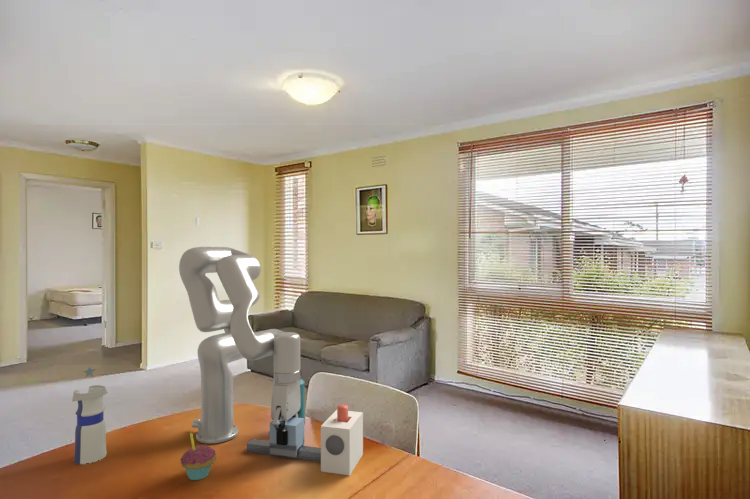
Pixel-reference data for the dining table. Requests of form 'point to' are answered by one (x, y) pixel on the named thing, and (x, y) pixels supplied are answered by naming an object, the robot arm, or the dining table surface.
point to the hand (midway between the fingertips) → (287, 439)
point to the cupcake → (198, 460)
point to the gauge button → (342, 413)
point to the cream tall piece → (90, 424)
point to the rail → (264, 448)
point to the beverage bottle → (302, 399)
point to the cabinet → (341, 443)
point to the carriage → (294, 437)
